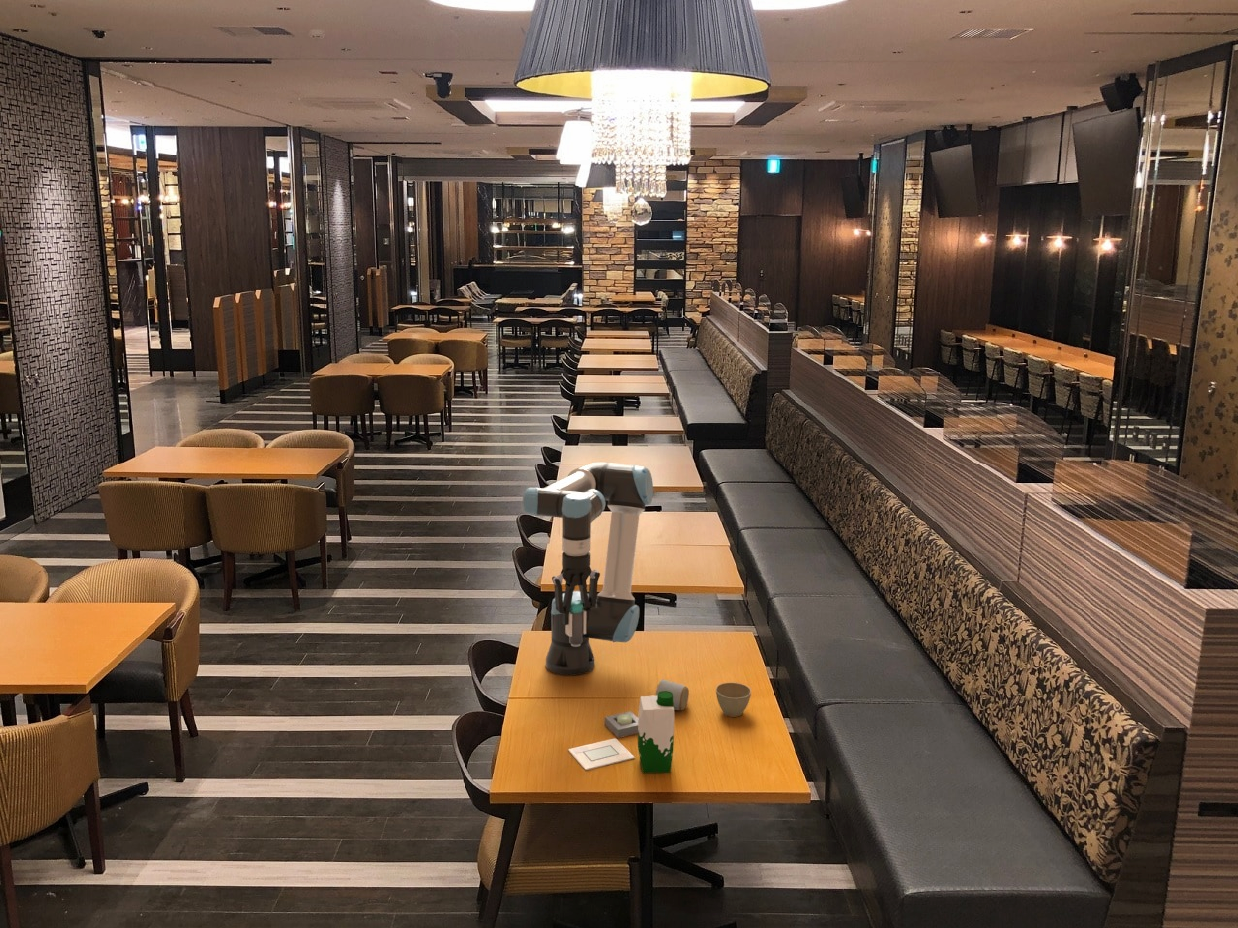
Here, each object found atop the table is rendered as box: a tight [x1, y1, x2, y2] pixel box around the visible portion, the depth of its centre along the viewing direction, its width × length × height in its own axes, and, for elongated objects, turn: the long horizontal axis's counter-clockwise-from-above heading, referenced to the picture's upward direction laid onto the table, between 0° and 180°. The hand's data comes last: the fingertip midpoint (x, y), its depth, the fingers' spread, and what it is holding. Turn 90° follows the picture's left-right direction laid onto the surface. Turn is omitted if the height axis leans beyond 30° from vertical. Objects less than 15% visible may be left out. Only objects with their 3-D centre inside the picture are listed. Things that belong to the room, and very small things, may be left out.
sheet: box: [567, 737, 635, 771], centre depth 274 cm, size 11×14×1 cm
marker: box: [569, 601, 583, 647], centre depth 283 cm, size 4×4×12 cm
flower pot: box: [715, 682, 752, 718], centre depth 297 cm, size 10×10×7 cm
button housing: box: [604, 711, 639, 739], centre depth 287 cm, size 8×8×2 cm
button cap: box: [617, 715, 632, 726], centre depth 287 cm, size 4×4×3 cm
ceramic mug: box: [655, 679, 690, 711], centre depth 301 cm, size 11×8×8 cm
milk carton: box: [637, 691, 675, 774], centre depth 266 cm, size 9×9×20 cm
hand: (575, 633), depth 284 cm, fingers closed on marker, 3 cm apart
